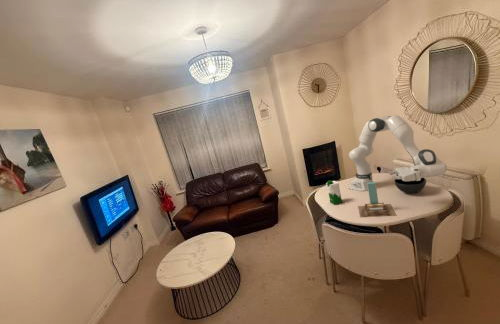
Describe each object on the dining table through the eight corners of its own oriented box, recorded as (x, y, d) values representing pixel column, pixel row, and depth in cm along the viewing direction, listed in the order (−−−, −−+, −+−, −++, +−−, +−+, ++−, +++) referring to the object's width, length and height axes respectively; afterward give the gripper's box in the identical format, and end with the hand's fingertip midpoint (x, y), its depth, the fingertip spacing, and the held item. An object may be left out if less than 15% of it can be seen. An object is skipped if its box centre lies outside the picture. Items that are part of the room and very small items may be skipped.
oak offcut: (383, 210, 155) (382, 203, 154) (384, 211, 153) (383, 204, 153) (368, 211, 159) (367, 204, 158) (368, 212, 157) (367, 205, 157)
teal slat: (378, 207, 160) (374, 181, 157) (379, 209, 158) (375, 183, 154) (371, 208, 162) (367, 182, 159) (371, 209, 160) (367, 183, 156)
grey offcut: (383, 212, 152) (382, 207, 152) (383, 214, 150) (383, 208, 150) (370, 213, 155) (369, 208, 155) (370, 214, 154) (369, 209, 153)
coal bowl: (407, 185, 185) (404, 164, 182) (433, 190, 166) (431, 167, 163) (390, 193, 179) (387, 171, 176) (415, 199, 160) (413, 175, 157)
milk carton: (328, 202, 191) (324, 180, 188) (338, 199, 192) (334, 177, 189) (334, 205, 183) (329, 183, 179) (343, 202, 184) (339, 180, 180)
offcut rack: (391, 205, 161) (390, 200, 160) (397, 217, 145) (396, 211, 144) (358, 207, 170) (357, 202, 169) (360, 219, 154) (359, 213, 153)
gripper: (409, 163, 154) (387, 167, 160) (419, 171, 136) (393, 175, 141) (411, 172, 155) (388, 175, 161) (421, 181, 137) (395, 184, 142)
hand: (391, 175), depth 151 cm, fingers open, 8 cm apart
